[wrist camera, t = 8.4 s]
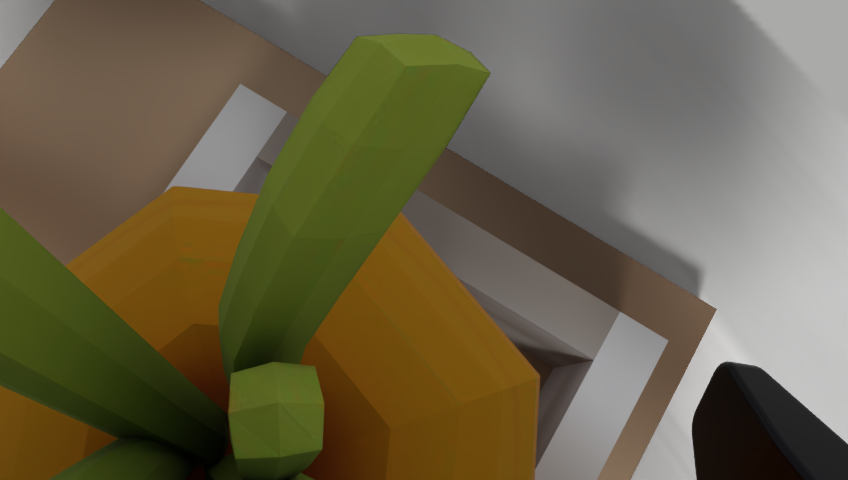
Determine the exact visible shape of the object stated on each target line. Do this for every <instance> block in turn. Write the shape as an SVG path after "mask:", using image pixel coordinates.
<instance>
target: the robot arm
mask: <svg viewBox="0 0 848 480" xmlns="http://www.w3.org/2000/svg"><path fill="white" fill-rule="evenodd" d="M692 440H693V449H694V458H695V468H696V477H697V480H848V444H847V443H846V442H845V441H844V440H843V439H841V438H840V437H839V436H838V435H837V434H836V433H835V432H833V431H832V430H831V429H830V428H829V427H828V426H827V425H825V424H824V423H823V422H822V421H821V420H820V419H819V418H817V417H816V416H815V415H814V414H813V413H812V412H811V411H809V410H808V409H807V408H806V407H805V406H804V405H803V404H802V403H800V402H799V401H798V400H797V399H796V398H795V397H794V396H792V395H791V394H790V393H789V392H788V391H787V390H786V389H784V388H783V387H782V386H781V385H780V384H779V383H778V382H776V381H775V380H774V379H773V378H772V377H771V376H770V375H768V374H767V373H766V372H765V371H764V370H763V369H761V368H759V367H757V366H753V365H747V364H741V363H735V362H724V363H722V364H720V365H719V366H718V367H717V369H716V370H715V372H714V374H713V376H712V378H711V380H710V382H709V384H708V386H707V388H706V390H705V392H704V394H703V397H702V399H701V401H700V403H699V405H698V407H697V409H696V411H695V414H694V417H693V422H692Z"/></svg>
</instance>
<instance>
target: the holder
mask: <svg viewBox="0 0 848 480" xmlns="http://www.w3.org/2000/svg"><path fill="white" fill-rule="evenodd" d="M326 78H327V76H325V75H324V74H322V73H320V72H318V71H317V70H315V69H313V68H312V67H310V66H308V65H307V64H305V63H303V62H302V61H300V60H298V59H297V58H295V57H293V56H292V55H290V54H288V53H287V52H285V51H283V50H282V49H280V48H278V47H277V46H275V45H273V44H272V43H270V42H268V41H267V40H265V39H263V38H262V37H260V36H258V35H257V34H255V33H253V32H251V31H250V30H248V29H246V28H245V27H243V26H241V25H240V24H238V23H236V22H235V21H233V20H231V19H230V18H228V17H226V16H225V15H223V14H221V13H220V12H218V11H216V10H215V9H213V8H211V7H210V6H208V5H206V4H205V3H203V2H201V1H200V0H55V1H54V2H53V3H52V5H51V6H50V7H49V8H48V10H47V11H46V12H45V13H44V15H43V16H42V17H41V18H40V20H39V21H38V22H37V24H36V25H35V26H34V27H33V29H32V30H31V31H30V32H29V34H28V35H27V36H26V37H25V39H24V40H23V41H22V42H21V44H20V45H19V46H18V47H17V49H16V50H15V51H14V53H13V54H12V55H11V56H10V58H9V59H8V60H7V61H6V63H5V64H4V65H3V66H2V68H1V69H0V207H1V208H2V209H3V210H4V211H5V212H6V213H7V214H9V215H10V216H11V217H12V218H13V219H14V220H15V221H16V222H17V223H18V224H19V225H21V226H22V227H23V228H24V229H25V230H26V231H27V232H28V233H29V234H30V235H31V236H32V237H34V238H35V239H36V240H37V241H38V242H39V243H40V244H41V245H42V246H43V247H44V248H46V249H47V250H48V251H49V252H50V253H51V254H52V255H53V256H54V257H55V258H56V259H58V260H59V261H60V262H61V263H62V264H63V265H64V266H66V265H67V264H68V263H70V262H71V261H72V260H74V259H75V258H77V257H78V256H79V255H81V254H82V253H83V252H85V251H86V250H87V249H89V248H90V247H91V246H93V245H94V244H95V243H97V242H98V241H99V240H101V239H102V238H104V237H105V236H106V235H108V234H109V233H110V232H112V231H113V230H114V229H116V228H117V227H118V226H120V225H121V224H122V223H124V222H125V221H126V220H128V219H129V218H131V217H132V216H133V215H135V214H136V213H137V212H139V211H140V210H141V209H143V208H144V207H145V206H147V205H148V204H149V203H151V202H152V201H153V200H155V199H156V198H158V197H159V196H160V195H162V194H163V193H164V192H166V191H167V190H168V189H170V188H171V187H172V186H183V187H193V188H203V189H213V190H223V191H233V192H243V193H253V194H259V193H260V191H261V189H262V186H263V184H264V181H265V179H266V177H267V174H268V173H269V171H270V169H271V167H272V166H273V164H274V162H275V161H276V159H277V157H278V155H279V154H280V152H281V150H282V148H283V147H284V145H285V143H286V142H287V140H288V138H289V136H290V135H291V133H292V131H293V129H294V128H295V126H296V124H297V123H298V121H299V119H300V117H301V116H302V114H303V112H304V110H305V109H306V107H307V105H308V104H309V102H310V100H311V98H312V97H313V95H314V94H315V93H316V91H317V90H318V89H319V87H320V86H321V85H322V83H323V82H324V80H325V79H326ZM401 212H402V213H403V215H404V216H405V217H406V218H407V219H408V220H409V222H410V223H411V224H412V225H413V226H414V228H415V229H416V230H417V231H418V232H419V233H420V235H421V236H422V237H423V238H424V239H425V241H426V242H427V243H428V244H429V245H430V246H431V248H432V249H433V250H434V251H435V252H436V253H437V255H438V256H439V257H440V258H441V259H442V261H443V262H444V263H445V264H446V265H447V266H448V268H449V269H450V270H451V271H452V272H453V273H454V275H455V276H456V277H457V278H458V279H459V281H460V282H461V283H462V284H463V285H464V286H465V288H466V289H467V290H468V291H469V292H470V293H471V295H472V296H473V297H474V298H475V299H476V301H477V302H478V303H479V304H480V305H481V306H482V308H483V309H484V310H485V311H486V312H487V313H488V315H489V316H490V317H491V318H492V319H493V321H494V322H495V323H496V324H497V325H498V326H499V328H500V329H501V330H502V331H503V332H504V334H505V335H506V336H507V337H508V338H509V339H510V341H511V342H512V343H513V344H514V345H515V346H516V348H517V349H518V350H519V351H520V352H521V354H522V355H523V356H524V357H525V358H526V359H527V361H528V362H529V363H530V364H531V365H532V366H533V368H534V369H535V370H536V371H537V372H538V374H539V375H540V389H539V408H538V426H537V445H536V463H535V480H630V479H631V477H632V475H633V473H634V471H635V469H636V467H637V466H638V464H639V462H640V460H641V458H642V456H643V454H644V452H645V450H646V448H647V446H648V444H649V442H650V440H651V438H652V436H653V434H654V432H655V430H656V428H657V426H658V424H659V422H660V420H661V418H662V416H663V414H664V412H665V410H666V408H667V406H668V404H669V402H670V400H671V398H672V396H673V394H674V393H675V391H676V389H677V387H678V385H679V383H680V381H681V379H682V377H683V375H684V373H685V371H686V369H687V367H688V365H689V363H690V361H691V359H692V357H693V355H694V353H695V351H696V349H697V347H698V345H699V343H700V341H701V339H702V337H703V335H704V333H705V331H706V329H707V327H708V325H709V323H710V321H711V319H712V318H713V316H714V314H715V312H716V310H717V309H716V308H714V307H712V306H711V305H709V304H707V303H705V302H704V301H702V300H700V299H699V298H697V297H695V296H694V295H692V294H690V293H689V292H687V291H685V290H684V289H682V288H680V287H679V286H677V285H675V284H674V283H672V282H670V281H669V280H667V279H665V278H664V277H662V276H660V275H659V274H657V273H655V272H654V271H652V270H650V269H649V268H647V267H645V266H644V265H642V264H640V263H638V262H637V261H635V260H633V259H632V258H630V257H628V256H627V255H625V254H623V253H622V252H620V251H618V250H617V249H615V248H613V247H612V246H610V245H608V244H607V243H605V242H603V241H602V240H600V239H598V238H597V237H595V236H593V235H592V234H590V233H588V232H587V231H585V230H583V229H582V228H580V227H578V226H576V225H575V224H573V223H571V222H570V221H568V220H566V219H565V218H563V217H561V216H560V215H558V214H556V213H555V212H553V211H551V210H550V209H548V208H546V207H545V206H543V205H541V204H540V203H538V202H536V201H535V200H533V199H531V198H530V197H528V196H526V195H525V194H523V193H521V192H520V191H518V190H516V189H515V188H513V187H511V186H509V185H508V184H506V183H504V182H503V181H501V180H499V179H498V178H496V177H494V176H493V175H491V174H489V173H488V172H486V171H484V170H483V169H481V168H479V167H478V166H476V165H474V164H473V163H471V162H469V161H468V160H466V159H464V158H463V157H461V156H459V155H458V154H456V153H454V152H453V151H451V150H449V149H447V148H445V149H444V151H443V152H442V154H441V155H440V156H439V158H438V159H437V161H436V162H435V164H434V165H433V166H432V168H431V169H430V171H429V172H428V173H427V175H426V176H425V178H424V179H423V180H422V182H421V183H420V185H419V186H418V188H417V189H416V190H415V192H414V193H413V195H412V196H411V197H410V199H409V200H408V202H407V203H406V204H405V206H404V207H403V209H402V210H401Z"/></svg>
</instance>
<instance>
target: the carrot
mask: <svg viewBox="0 0 848 480" xmlns="http://www.w3.org/2000/svg"><path fill="white" fill-rule="evenodd" d="M489 75H490V72H489V71H488V70H487V69H486V68H485V67H484V66H483V65H482V64H481V63H480V62H479V60H478V59H477V58H476V57H475V56H474V55H473V54H472V53H471V52H469V51H467V50H465V49H463V48H461V47H459V46H457V45H455V44H453V43H451V42H449V41H447V40H445V39H443V38H441V37H439V36H437V35H424V34H387V35H372V36H357V37H356V38H355V40H354V41H353V42H352V44H351V45H350V46H349V48H348V49H347V51H346V52H345V53H344V55H343V56H342V57H341V59H340V60H339V61H338V63H337V64H336V65H335V67H334V68H333V70H332V71H331V72H330V74H329V75H328V76H327V78H326V79H325V80H324V82H323V83H322V85H321V86H320V87H319V89H318V90H317V91H316V93H315V94H314V95H313V97H312V98H311V100H310V102H309V104H308V105H307V107H306V109H305V110H304V112H303V114H302V116H301V117H300V119H299V121H298V123H297V124H296V126H295V128H294V129H293V131H292V133H291V135H290V136H289V138H288V140H287V142H286V143H285V145H284V147H283V148H282V150H281V152H280V154H279V155H278V157H277V159H276V161H275V162H274V164H273V166H272V167H271V169H270V171H269V173H268V174H267V177H266V179H265V181H264V184H263V186H262V189H261V191H260V193H259V194H253V193H243V192H233V191H223V190H213V189H203V188H193V187H183V186H172V187H171V188H170V189H168V190H167V191H166V192H164V193H163V194H162V195H160V196H159V197H158V198H156V199H155V200H153V201H152V202H151V203H149V204H148V205H147V206H145V207H144V208H143V209H141V210H140V211H139V212H137V213H136V214H135V215H133V216H132V217H131V218H129V219H128V220H126V221H125V222H124V223H122V224H121V225H120V226H118V227H117V228H116V229H114V230H113V231H112V232H110V233H109V234H108V235H106V236H105V237H104V238H102V239H101V240H99V241H98V242H97V243H95V244H94V245H93V246H91V247H90V248H89V249H87V250H86V251H85V252H83V253H82V254H81V255H79V256H78V257H77V258H75V259H74V260H72V261H71V262H70V263H68V264H67V265H66V266H64V265H63V264H62V263H61V262H60V261H59V260H58V259H56V258H55V257H54V256H53V255H52V254H51V253H50V252H49V251H48V250H47V249H46V248H44V247H43V246H42V245H41V244H40V243H39V242H38V241H37V240H36V239H35V238H34V237H32V236H31V235H30V234H29V233H28V232H27V231H26V230H25V229H24V228H23V227H22V226H21V225H19V224H18V223H17V222H16V221H15V220H14V219H13V218H12V217H11V216H10V215H9V214H7V213H6V212H5V211H4V210H3V209H2V208H1V207H0V480H535V463H536V445H537V426H538V408H539V389H540V375H539V374H538V372H537V371H536V370H535V369H534V368H533V366H532V365H531V364H530V363H529V362H528V361H527V359H526V358H525V357H524V356H523V355H522V354H521V352H520V351H519V350H518V349H517V348H516V346H515V345H514V344H513V343H512V342H511V341H510V339H509V338H508V337H507V336H506V335H505V334H504V332H503V331H502V330H501V329H500V328H499V326H498V325H497V324H496V323H495V322H494V321H493V319H492V318H491V317H490V316H489V315H488V313H487V312H486V311H485V310H484V309H483V308H482V306H481V305H480V304H479V303H478V302H477V301H476V299H475V298H474V297H473V296H472V295H471V293H470V292H469V291H468V290H467V289H466V288H465V286H464V285H463V284H462V283H461V282H460V281H459V279H458V278H457V277H456V276H455V275H454V273H453V272H452V271H451V270H450V269H449V268H448V266H447V265H446V264H445V263H444V262H443V261H442V259H441V258H440V257H439V256H438V255H437V253H436V252H435V251H434V250H433V249H432V248H431V246H430V245H429V244H428V243H427V242H426V241H425V239H424V238H423V237H422V236H421V235H420V233H419V232H418V231H417V230H416V229H415V228H414V226H413V225H412V224H411V223H410V222H409V220H408V219H407V218H406V217H405V216H404V215H403V213H402V212H401V210H402V209H403V207H404V206H405V204H406V203H407V202H408V200H409V199H410V197H411V196H412V195H413V193H414V192H415V190H416V189H417V188H418V186H419V185H420V183H421V182H422V180H423V179H424V178H425V176H426V175H427V173H428V172H429V171H430V169H431V168H432V166H433V165H434V164H435V162H436V161H437V159H438V158H439V156H440V155H441V154H442V152H443V151H444V149H445V148H446V147H447V145H448V143H449V142H450V140H451V138H452V137H453V135H454V133H455V132H456V130H457V128H458V127H459V125H460V123H461V122H462V120H463V118H464V117H465V115H466V113H467V112H468V110H469V108H470V107H471V105H472V103H473V102H474V100H475V98H476V97H477V95H478V93H479V92H480V90H481V88H482V87H483V85H484V83H485V82H486V80H487V78H488V77H489Z"/></svg>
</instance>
